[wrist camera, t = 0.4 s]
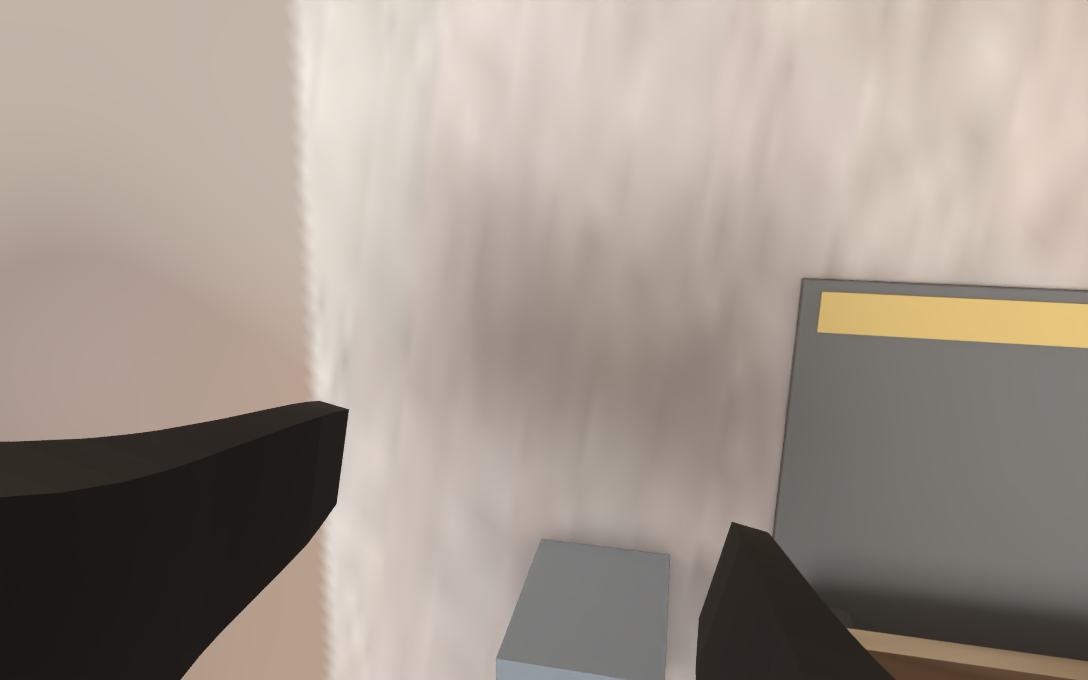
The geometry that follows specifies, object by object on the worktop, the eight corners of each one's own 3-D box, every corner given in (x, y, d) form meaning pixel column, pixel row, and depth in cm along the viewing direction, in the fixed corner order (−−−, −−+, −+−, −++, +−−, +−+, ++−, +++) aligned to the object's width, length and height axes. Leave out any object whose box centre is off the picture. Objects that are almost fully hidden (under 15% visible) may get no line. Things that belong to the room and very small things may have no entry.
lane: (1128, 927, 23) (1135, 940, 23) (737, 847, 25) (737, 858, 25) (1339, 301, 17) (1354, 304, 17) (802, 278, 20) (805, 280, 19)
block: (662, 663, 24) (654, 820, 18) (540, 644, 25) (497, 788, 19) (670, 554, 23) (664, 685, 17) (541, 538, 24) (496, 658, 18)
